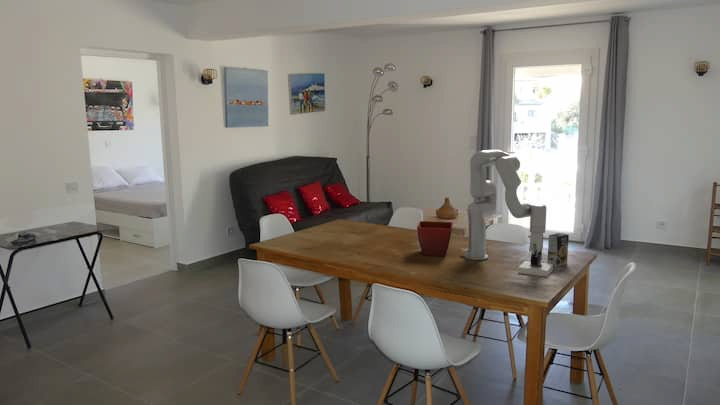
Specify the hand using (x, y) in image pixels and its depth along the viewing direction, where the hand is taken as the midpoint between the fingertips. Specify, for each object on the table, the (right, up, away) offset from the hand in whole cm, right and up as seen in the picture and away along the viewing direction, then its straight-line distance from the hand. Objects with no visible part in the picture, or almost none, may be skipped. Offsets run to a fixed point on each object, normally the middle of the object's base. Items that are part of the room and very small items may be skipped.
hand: (536, 262), depth 280 cm
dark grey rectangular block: (0, -4, +1) cm, 4 cm away
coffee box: (+15, -3, +14) cm, 21 cm away
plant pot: (-46, +1, +39) cm, 60 cm away
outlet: (0, -5, +1) cm, 5 cm away
